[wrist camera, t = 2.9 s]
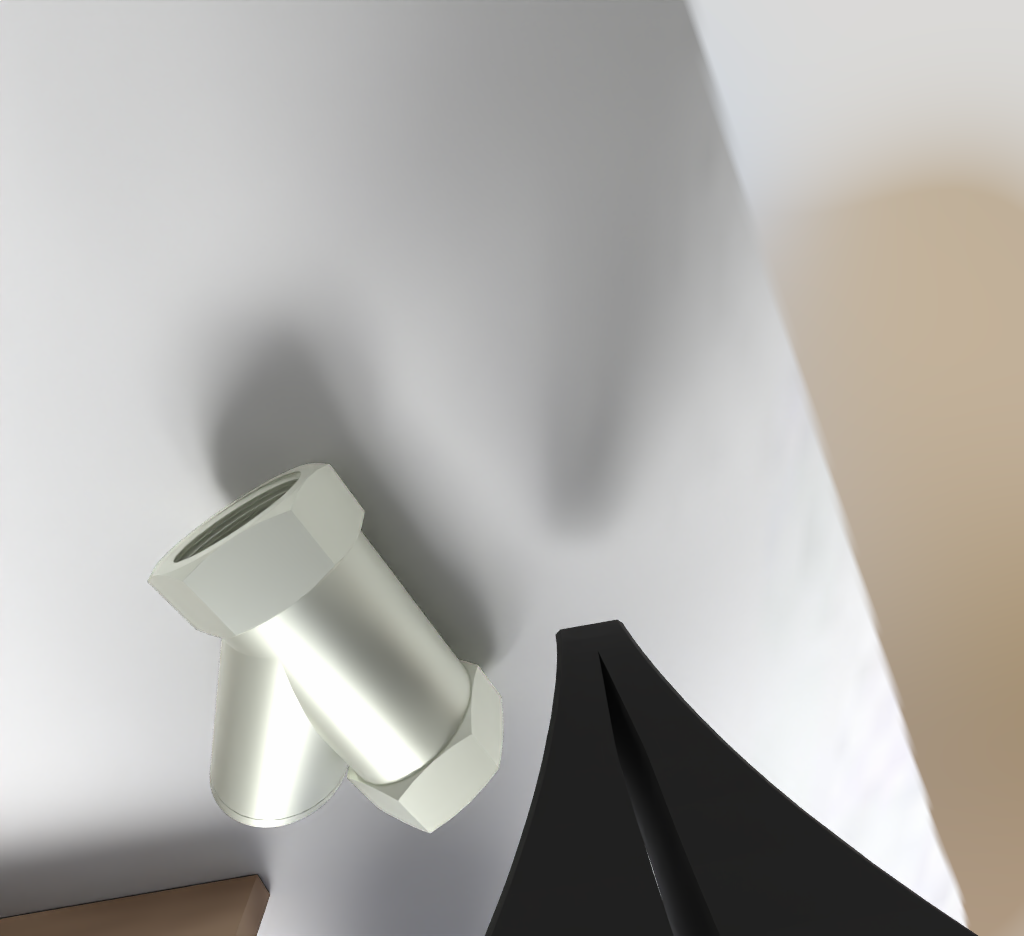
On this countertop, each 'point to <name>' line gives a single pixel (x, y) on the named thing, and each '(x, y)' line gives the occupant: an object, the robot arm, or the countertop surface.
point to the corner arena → (156, 913)
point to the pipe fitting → (326, 664)
